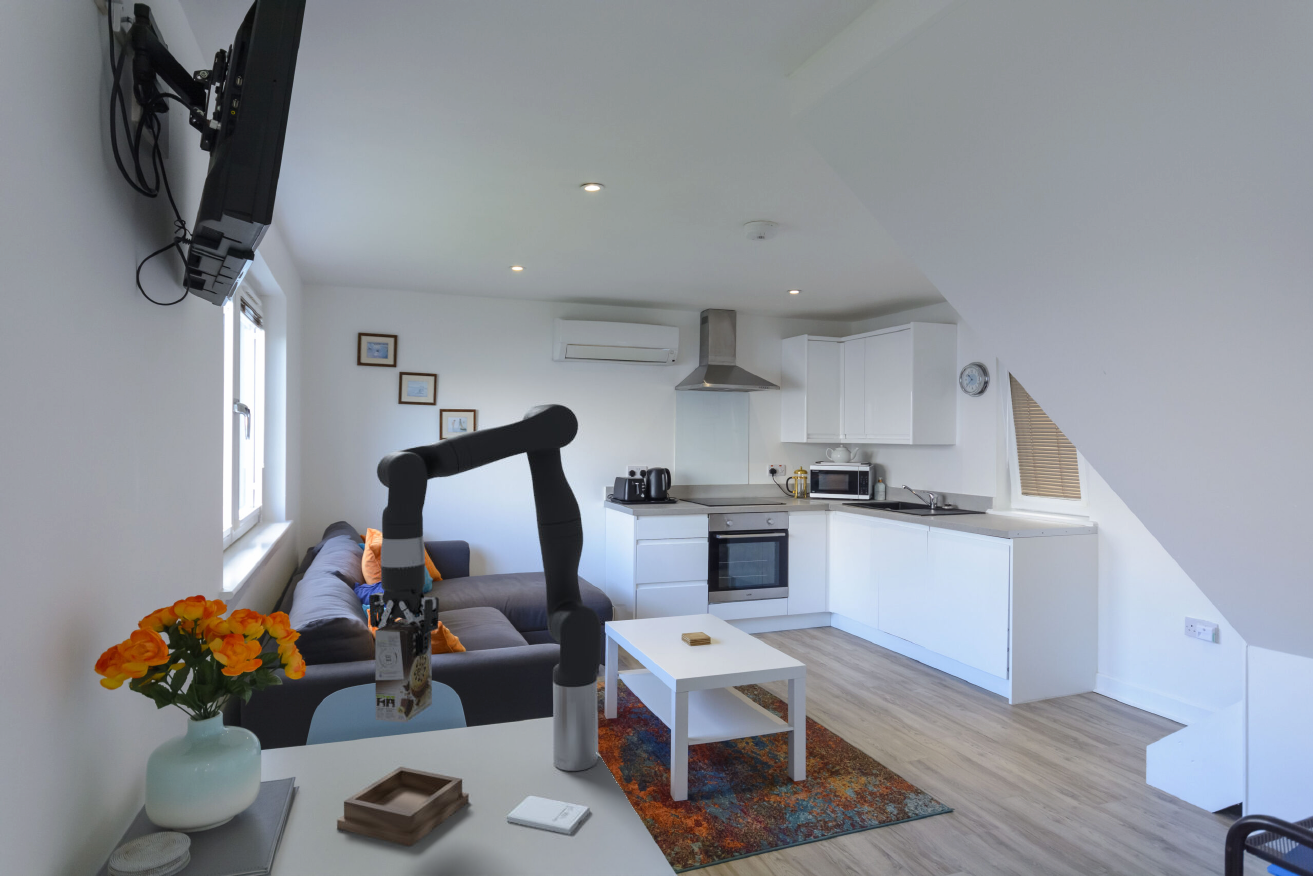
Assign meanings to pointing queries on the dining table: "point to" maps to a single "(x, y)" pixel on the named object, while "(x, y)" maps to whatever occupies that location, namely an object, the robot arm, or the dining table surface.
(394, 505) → the robot arm
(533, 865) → the dining table surface
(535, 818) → the external hard drive
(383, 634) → the coffee box
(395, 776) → the wooden tray
